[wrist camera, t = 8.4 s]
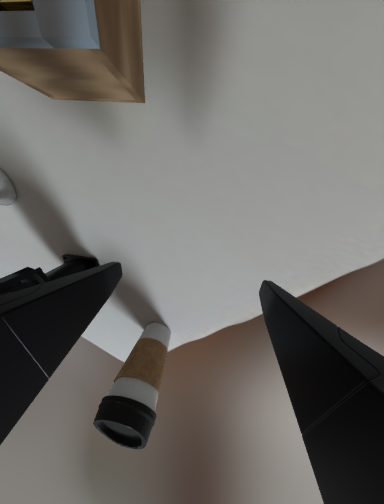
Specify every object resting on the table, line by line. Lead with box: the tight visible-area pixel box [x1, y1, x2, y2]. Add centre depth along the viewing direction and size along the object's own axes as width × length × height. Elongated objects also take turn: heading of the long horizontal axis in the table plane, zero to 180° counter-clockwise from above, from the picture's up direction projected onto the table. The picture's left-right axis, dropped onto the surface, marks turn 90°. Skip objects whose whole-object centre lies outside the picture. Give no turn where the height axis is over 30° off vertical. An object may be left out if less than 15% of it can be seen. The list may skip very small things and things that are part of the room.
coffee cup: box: [93, 322, 171, 449], centre depth 25 cm, size 8×8×15 cm
